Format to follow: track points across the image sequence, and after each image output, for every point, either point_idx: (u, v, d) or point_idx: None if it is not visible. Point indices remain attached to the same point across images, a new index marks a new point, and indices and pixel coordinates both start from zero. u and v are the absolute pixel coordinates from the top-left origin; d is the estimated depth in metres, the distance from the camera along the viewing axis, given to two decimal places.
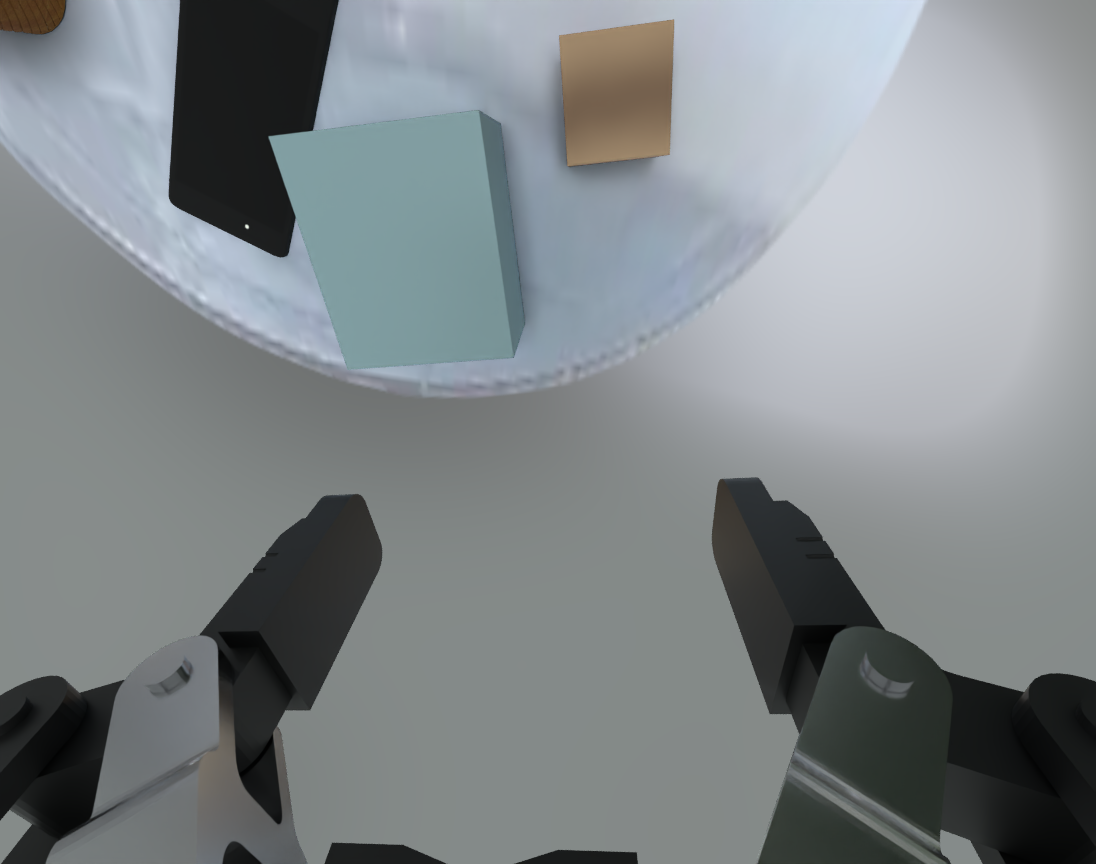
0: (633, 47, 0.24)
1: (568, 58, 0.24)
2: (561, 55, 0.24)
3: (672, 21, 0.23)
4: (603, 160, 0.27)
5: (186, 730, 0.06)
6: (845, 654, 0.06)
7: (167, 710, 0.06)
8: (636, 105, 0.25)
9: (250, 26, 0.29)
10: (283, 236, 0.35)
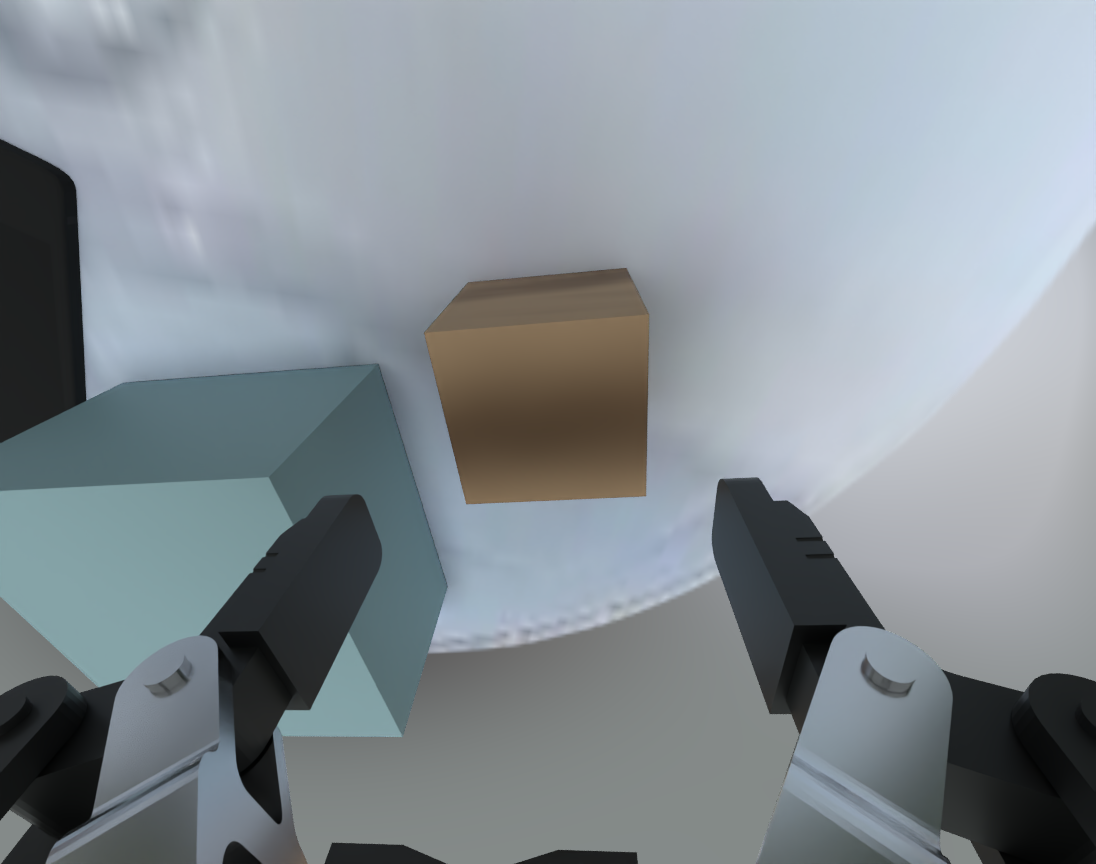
0: (571, 353, 0.12)
1: (446, 366, 0.13)
2: (433, 361, 0.13)
3: (645, 317, 0.12)
4: (528, 499, 0.15)
5: (186, 730, 0.06)
6: (845, 654, 0.06)
7: (166, 710, 0.06)
8: (581, 432, 0.14)
9: None
10: None
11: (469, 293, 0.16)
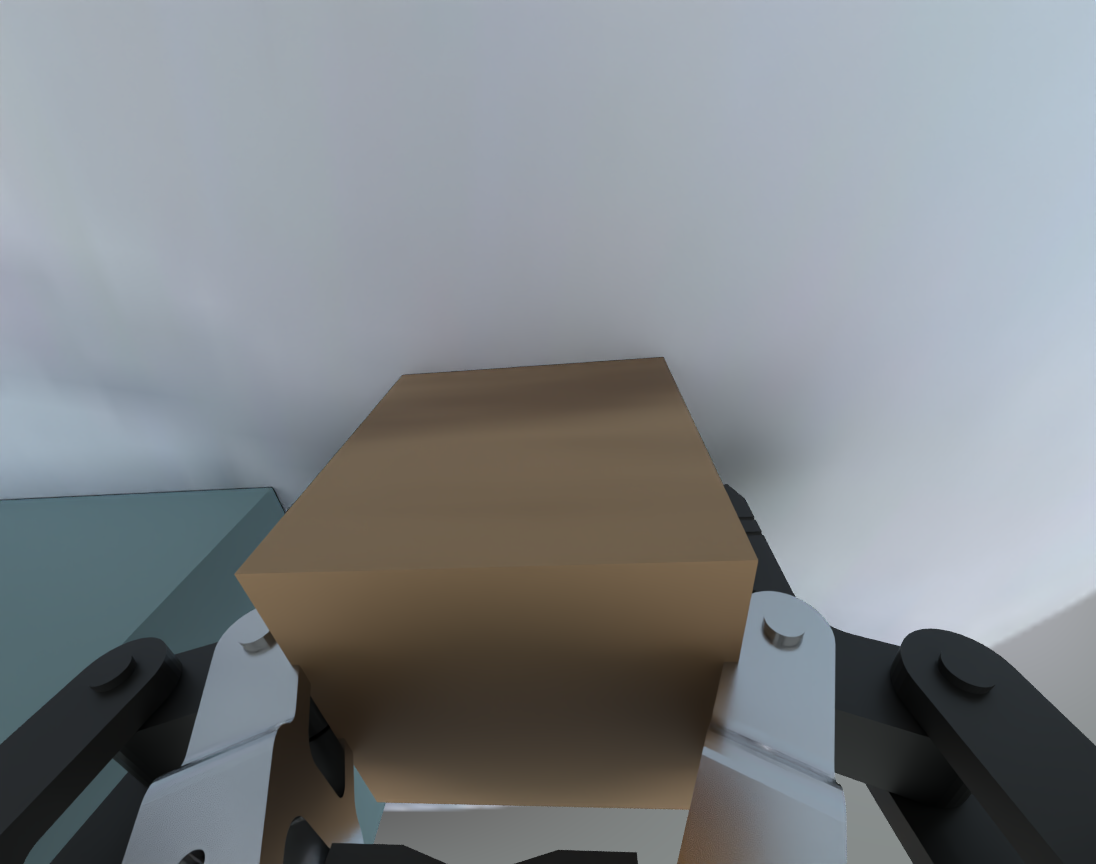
0: (568, 618, 0.05)
1: (298, 628, 0.06)
2: (267, 619, 0.06)
3: (749, 564, 0.05)
4: (490, 803, 0.08)
5: (287, 683, 0.06)
6: (748, 614, 0.06)
7: (254, 670, 0.06)
8: (589, 730, 0.07)
9: None
10: None
11: (390, 412, 0.09)
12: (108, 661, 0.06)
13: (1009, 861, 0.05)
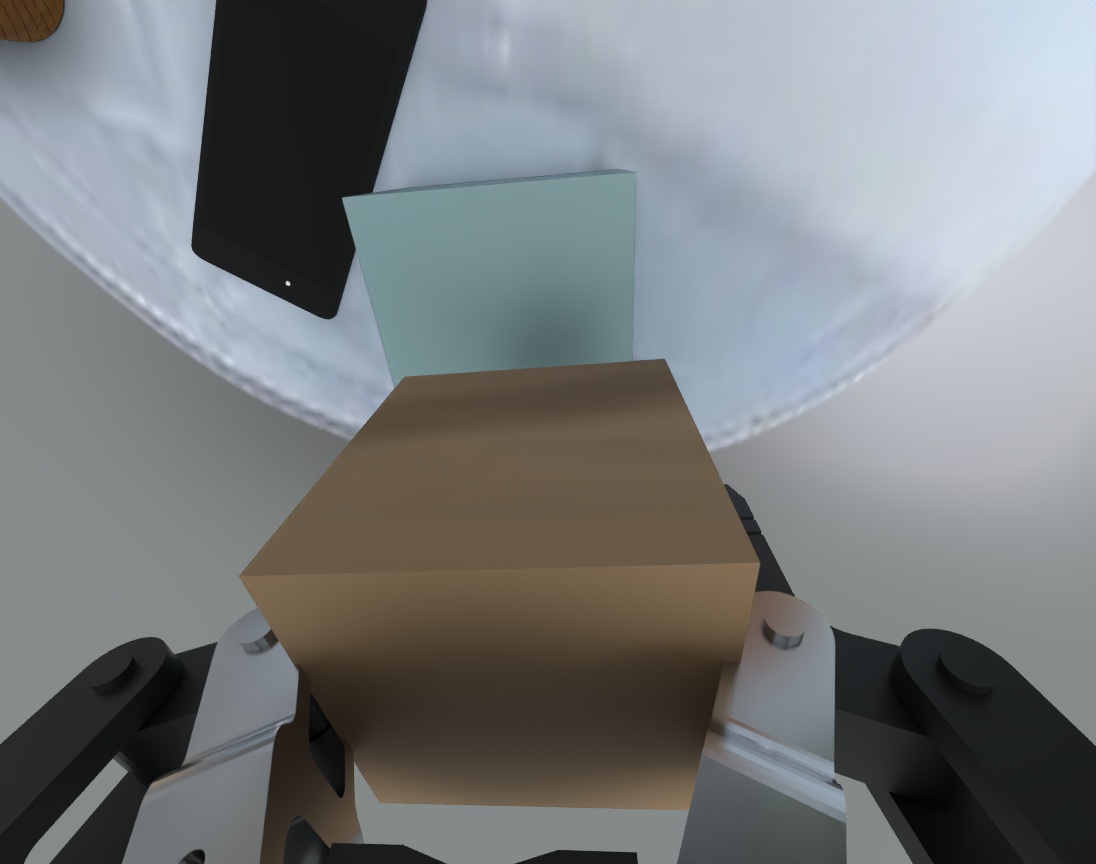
0: (571, 620, 0.05)
1: (301, 630, 0.06)
2: (271, 621, 0.06)
3: (751, 566, 0.05)
4: (492, 804, 0.08)
5: (288, 683, 0.06)
6: None
7: (255, 670, 0.06)
8: (592, 731, 0.07)
9: (307, 40, 0.22)
10: (332, 296, 0.28)
11: (393, 413, 0.09)
12: (108, 661, 0.06)
13: (1009, 861, 0.05)
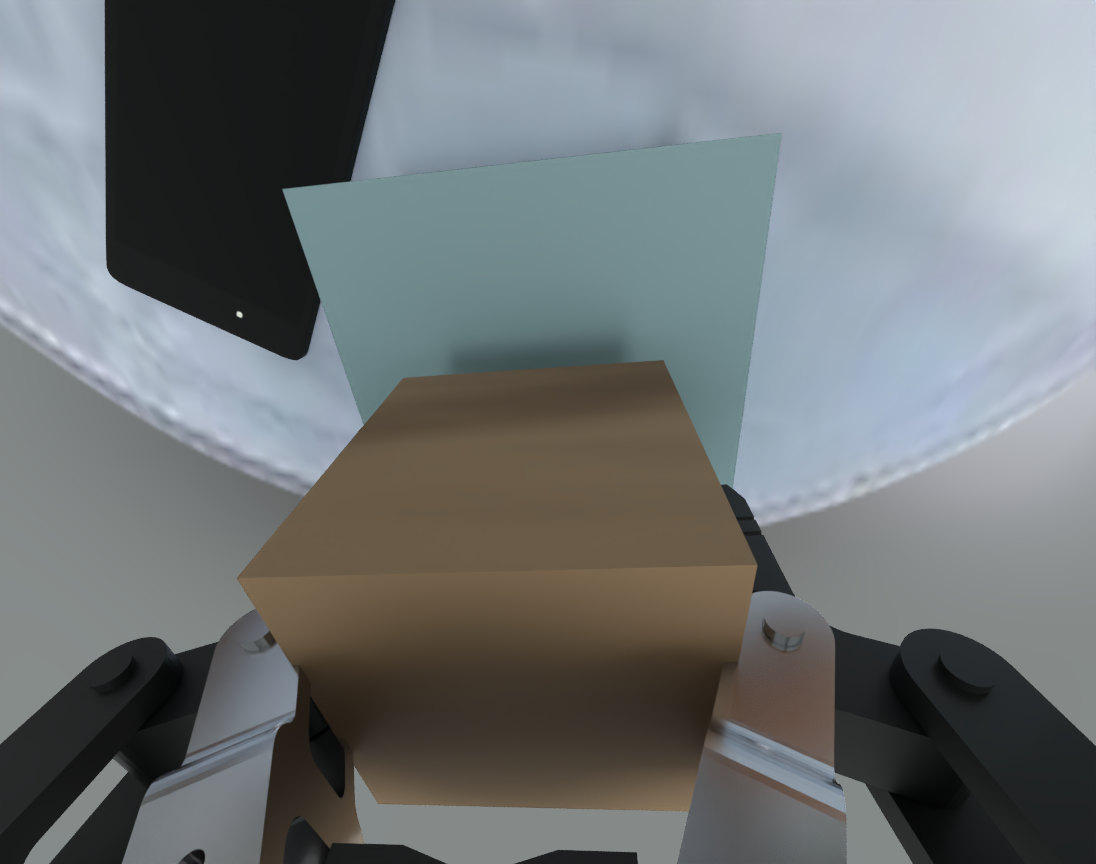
0: (569, 622, 0.05)
1: (300, 631, 0.06)
2: (269, 623, 0.06)
3: (748, 568, 0.05)
4: (491, 805, 0.08)
5: (288, 683, 0.06)
6: None
7: (254, 670, 0.06)
8: (589, 733, 0.07)
9: None
10: (299, 330, 0.21)
11: (391, 415, 0.09)
12: (108, 661, 0.06)
13: (1009, 861, 0.05)
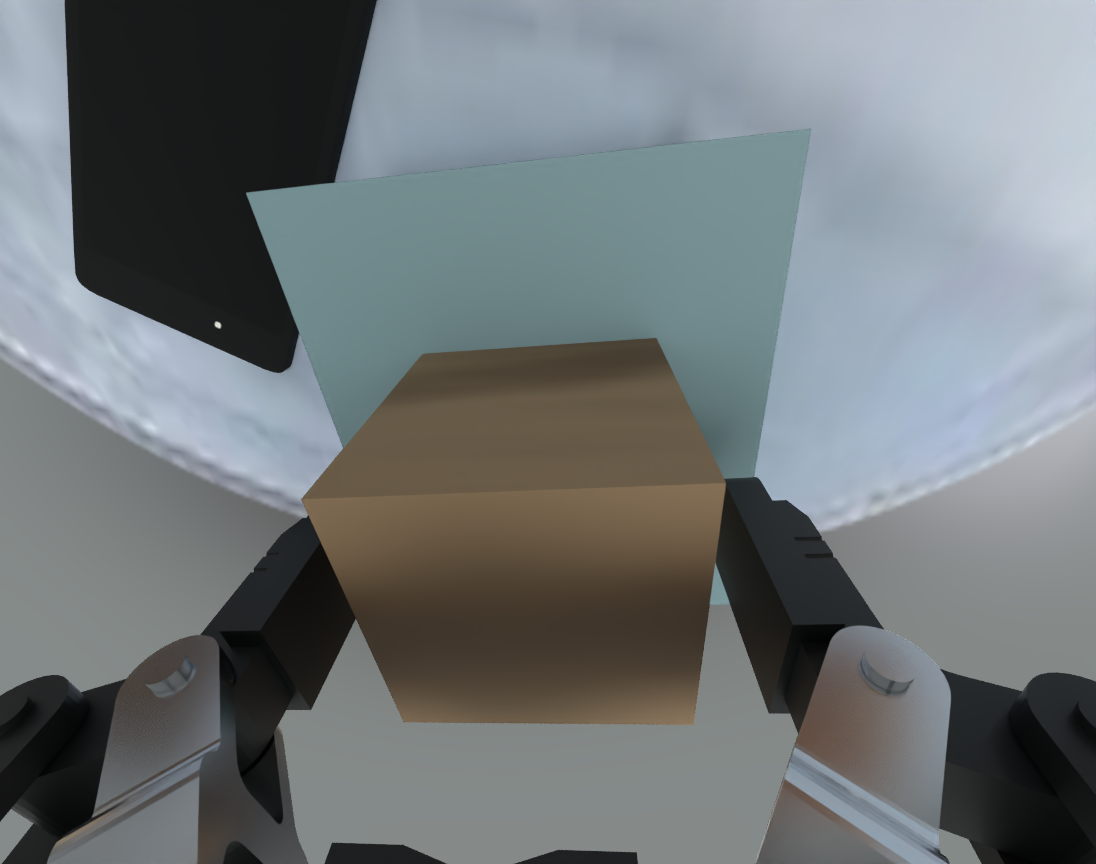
0: (574, 537, 0.07)
1: (349, 549, 0.07)
2: (324, 541, 0.07)
3: (718, 486, 0.06)
4: (503, 721, 0.09)
5: (187, 729, 0.06)
6: (844, 653, 0.06)
7: (168, 709, 0.06)
8: (590, 645, 0.08)
9: None
10: (282, 341, 0.20)
11: (415, 382, 0.10)
12: None
13: None
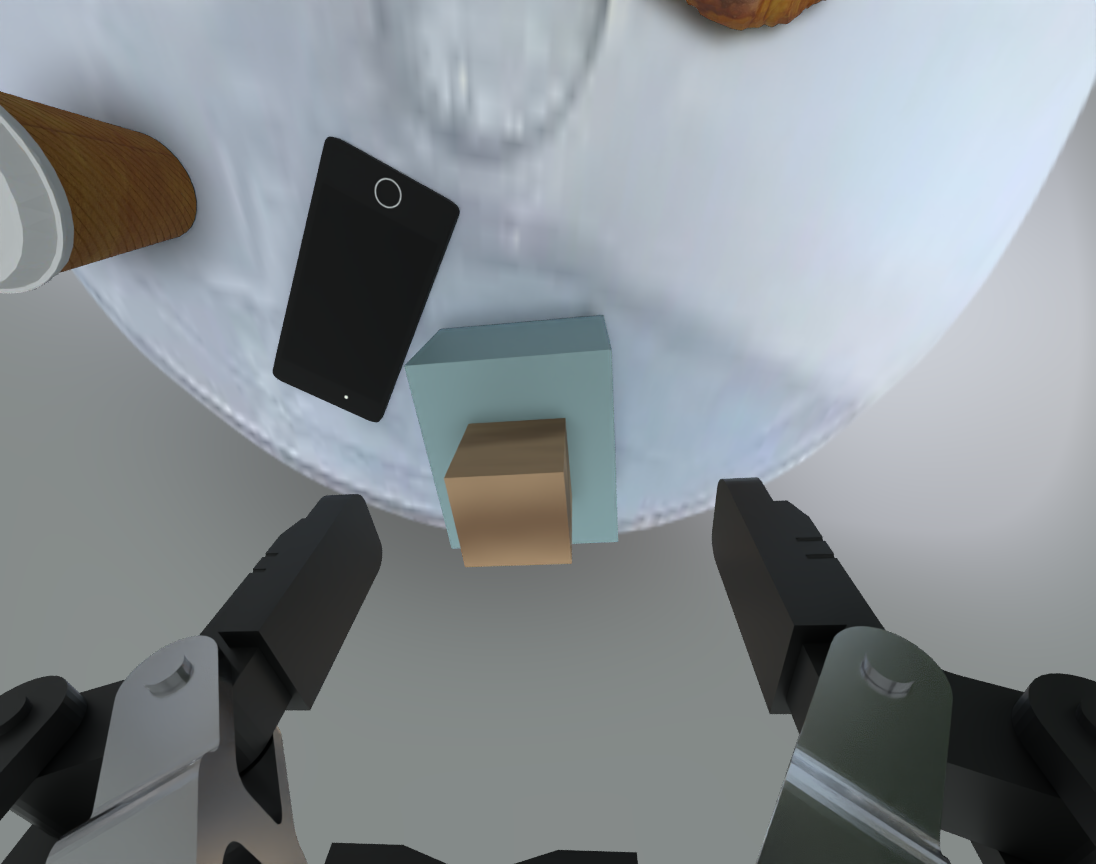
0: (523, 489, 0.23)
1: (455, 494, 0.23)
2: (448, 491, 0.23)
3: (561, 473, 0.22)
4: (502, 564, 0.25)
5: (186, 730, 0.06)
6: (845, 654, 0.06)
7: (166, 710, 0.06)
8: (531, 528, 0.24)
9: (372, 237, 0.30)
10: (380, 405, 0.36)
11: (468, 438, 0.26)
12: None
13: None
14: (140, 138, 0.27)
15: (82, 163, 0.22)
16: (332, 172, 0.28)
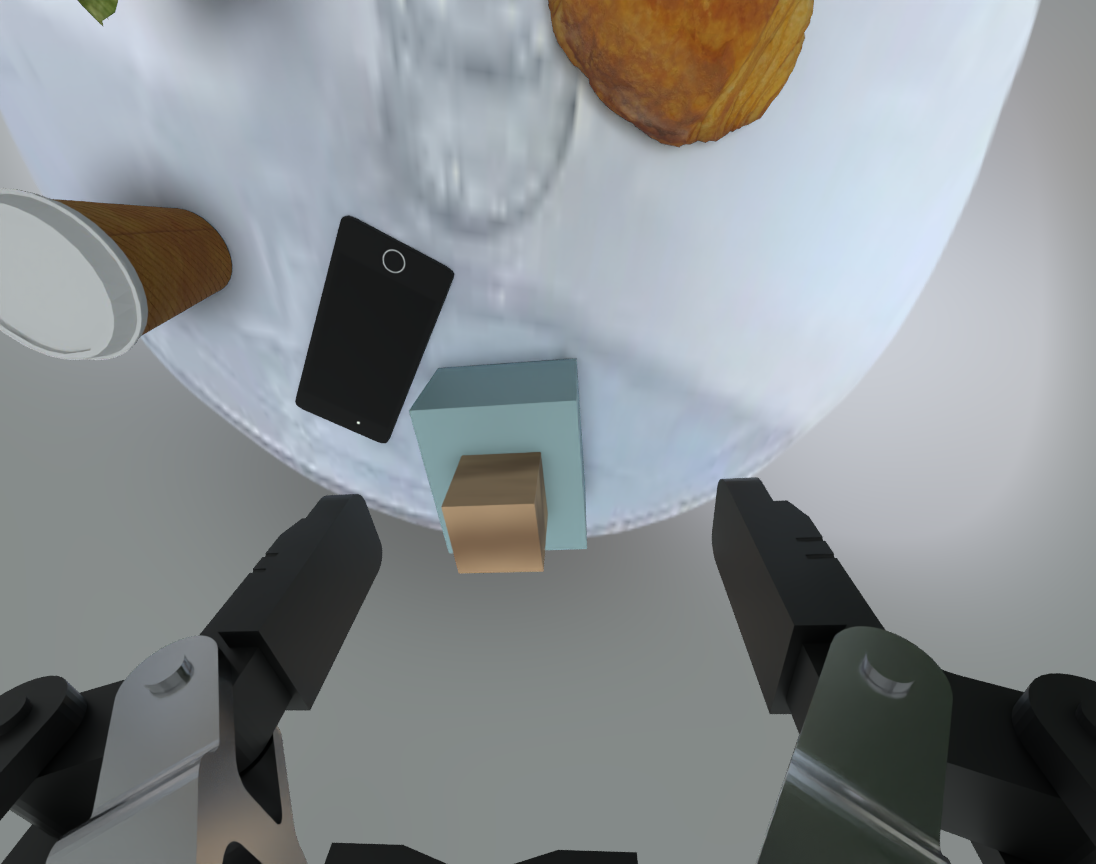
0: (503, 515, 0.29)
1: (450, 518, 0.29)
2: (444, 517, 0.29)
3: (533, 504, 0.28)
4: (488, 571, 0.31)
5: (186, 730, 0.06)
6: (845, 654, 0.06)
7: (167, 709, 0.06)
8: (510, 545, 0.30)
9: (380, 296, 0.36)
10: (387, 430, 0.42)
11: (461, 469, 0.32)
12: None
13: None
14: (188, 218, 0.32)
15: (152, 257, 0.28)
16: (347, 244, 0.34)
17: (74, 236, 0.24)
